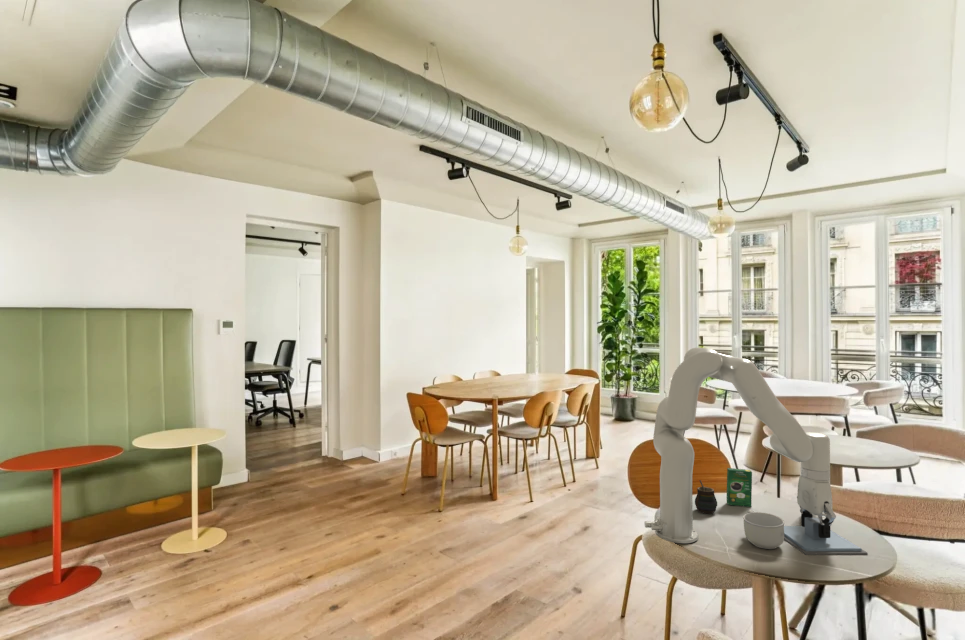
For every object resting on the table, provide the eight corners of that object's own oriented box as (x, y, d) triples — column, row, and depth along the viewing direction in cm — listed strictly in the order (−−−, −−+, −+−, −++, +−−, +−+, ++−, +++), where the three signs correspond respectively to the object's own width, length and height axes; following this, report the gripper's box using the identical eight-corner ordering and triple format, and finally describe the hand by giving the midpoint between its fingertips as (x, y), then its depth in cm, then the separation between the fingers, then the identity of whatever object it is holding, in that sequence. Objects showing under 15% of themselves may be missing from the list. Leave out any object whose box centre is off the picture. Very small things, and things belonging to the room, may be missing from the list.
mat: (804, 554, 144) (804, 552, 144) (769, 528, 162) (769, 527, 162) (867, 554, 144) (867, 552, 144) (824, 528, 162) (824, 527, 162)
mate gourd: (704, 516, 172) (703, 487, 172) (689, 508, 180) (689, 480, 180) (721, 514, 174) (721, 485, 174) (707, 506, 181) (706, 479, 182)
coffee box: (750, 504, 183) (750, 468, 183) (752, 507, 180) (752, 471, 180) (726, 502, 185) (726, 467, 185) (728, 505, 183) (727, 469, 183)
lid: (806, 551, 145) (806, 531, 145) (774, 528, 161) (774, 510, 161) (861, 551, 145) (861, 531, 145) (823, 528, 161) (823, 510, 161)
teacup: (790, 554, 144) (790, 526, 144) (749, 551, 146) (749, 523, 146) (772, 534, 158) (772, 509, 158) (735, 531, 160) (735, 506, 160)
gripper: (785, 465, 162) (785, 520, 162) (822, 483, 144) (822, 544, 144) (808, 465, 162) (809, 520, 162) (848, 483, 144) (848, 544, 144)
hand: (815, 531), depth 153 cm, fingers open, 7 cm apart
